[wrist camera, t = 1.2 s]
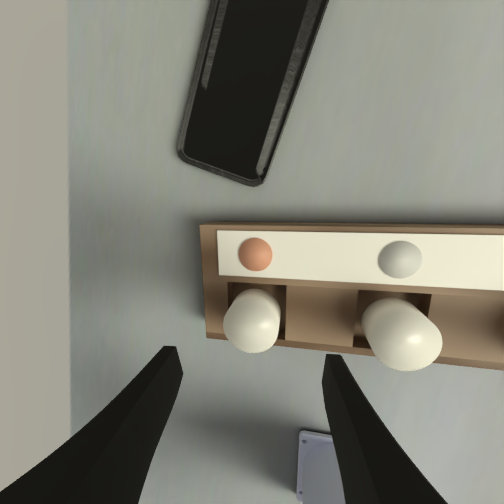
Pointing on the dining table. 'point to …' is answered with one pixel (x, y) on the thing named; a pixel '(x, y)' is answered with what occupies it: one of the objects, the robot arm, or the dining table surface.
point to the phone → (246, 84)
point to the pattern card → (366, 257)
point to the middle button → (400, 334)
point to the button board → (359, 299)
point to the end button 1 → (252, 321)
